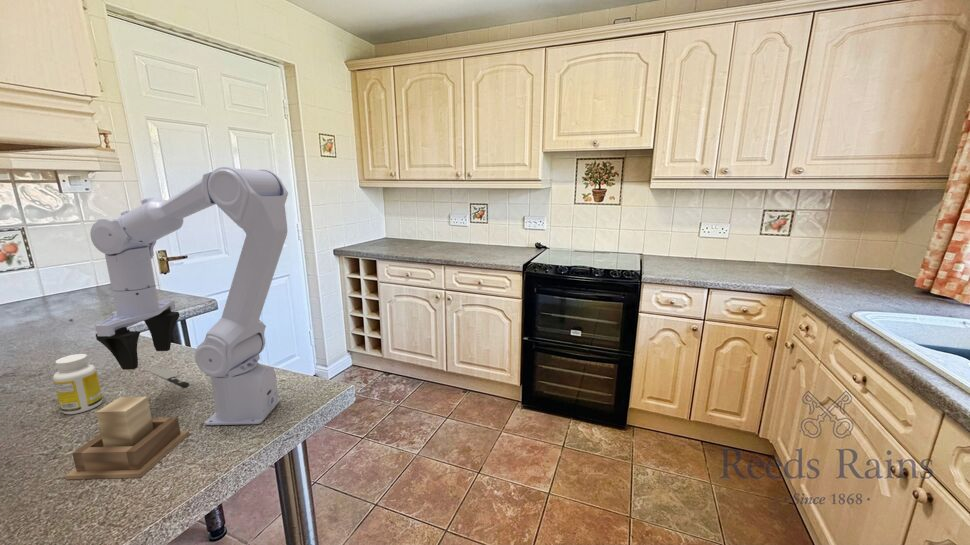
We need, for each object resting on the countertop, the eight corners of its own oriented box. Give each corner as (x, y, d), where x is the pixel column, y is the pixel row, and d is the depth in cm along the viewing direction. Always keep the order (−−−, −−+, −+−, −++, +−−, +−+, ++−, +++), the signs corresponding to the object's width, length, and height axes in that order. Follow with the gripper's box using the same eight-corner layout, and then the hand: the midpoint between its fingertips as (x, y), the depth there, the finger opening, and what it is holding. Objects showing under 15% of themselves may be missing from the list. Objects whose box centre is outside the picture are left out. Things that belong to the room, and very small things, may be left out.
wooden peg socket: (189, 433, 64) (186, 414, 64) (140, 477, 55) (136, 455, 54) (126, 435, 64) (122, 415, 63) (65, 479, 54) (60, 457, 53)
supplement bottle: (100, 396, 75) (90, 349, 73) (105, 406, 72) (94, 357, 70) (60, 407, 71) (48, 358, 69) (62, 419, 68) (50, 367, 66)
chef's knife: (156, 364, 90) (140, 369, 88) (155, 360, 90) (139, 364, 87) (200, 384, 81) (184, 389, 79) (200, 379, 81) (183, 384, 79)
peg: (156, 442, 61) (147, 396, 59) (135, 459, 57) (125, 411, 56) (129, 443, 61) (119, 397, 59) (106, 460, 57) (96, 412, 55)
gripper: (143, 277, 74) (155, 343, 77) (68, 298, 60) (86, 378, 63) (181, 277, 75) (192, 343, 78) (116, 298, 61) (131, 377, 64)
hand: (147, 359), depth 70 cm, fingers open, 7 cm apart
